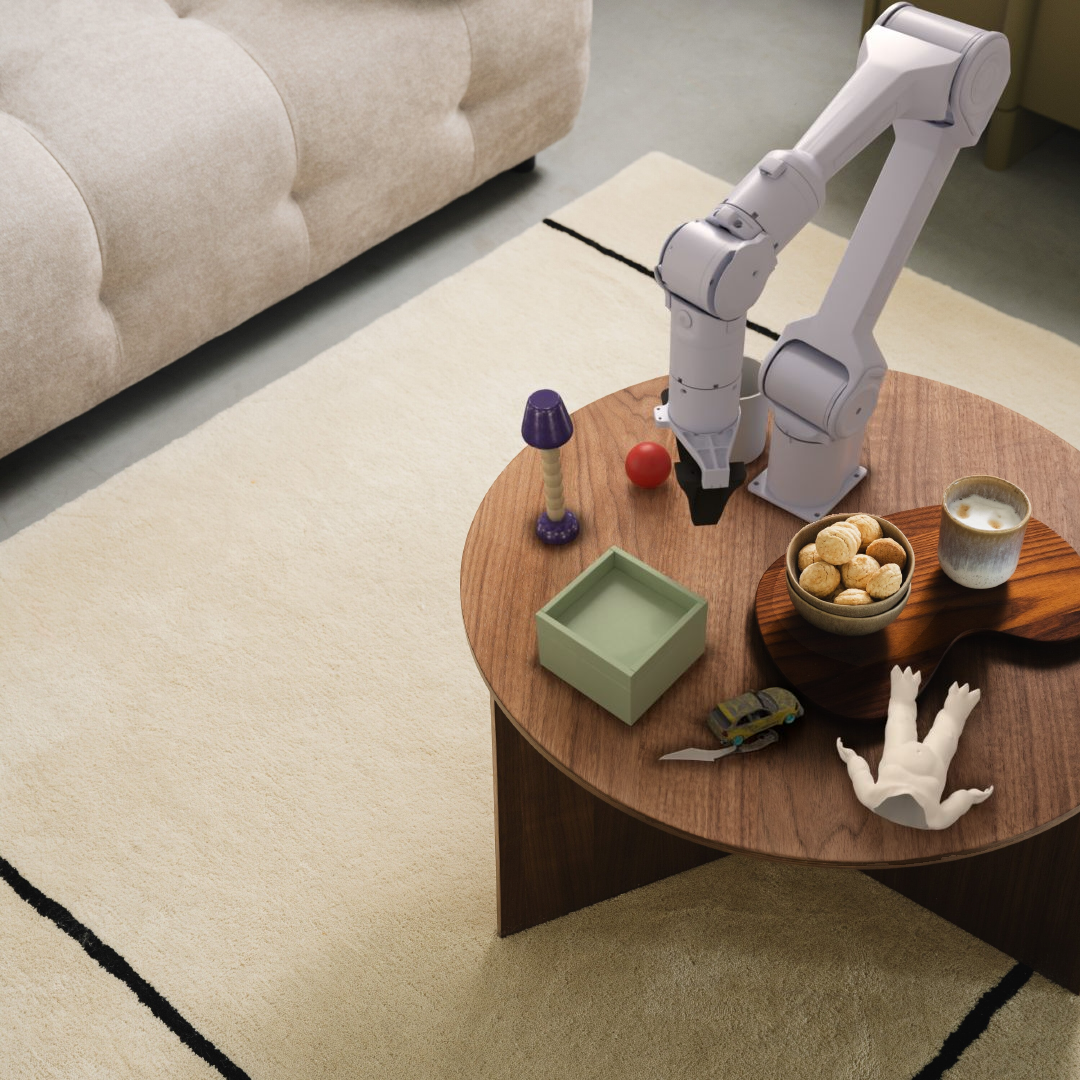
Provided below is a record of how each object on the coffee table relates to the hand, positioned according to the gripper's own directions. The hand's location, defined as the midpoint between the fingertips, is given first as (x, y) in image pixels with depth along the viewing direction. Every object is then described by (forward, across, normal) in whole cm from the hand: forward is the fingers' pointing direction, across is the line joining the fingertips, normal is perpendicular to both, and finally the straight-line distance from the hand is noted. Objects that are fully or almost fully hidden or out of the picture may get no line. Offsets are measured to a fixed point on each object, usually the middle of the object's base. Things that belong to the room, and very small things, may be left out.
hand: (698, 491), depth 100 cm
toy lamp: (+10, -6, -13) cm, 17 cm away
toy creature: (+8, +18, +17) cm, 26 cm away
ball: (+7, -12, -3) cm, 14 cm away
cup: (+10, -18, +6) cm, 21 cm away
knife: (+9, +17, 0) cm, 20 cm away
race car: (+9, +18, +2) cm, 20 cm away
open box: (+9, +10, -8) cm, 16 cm away
